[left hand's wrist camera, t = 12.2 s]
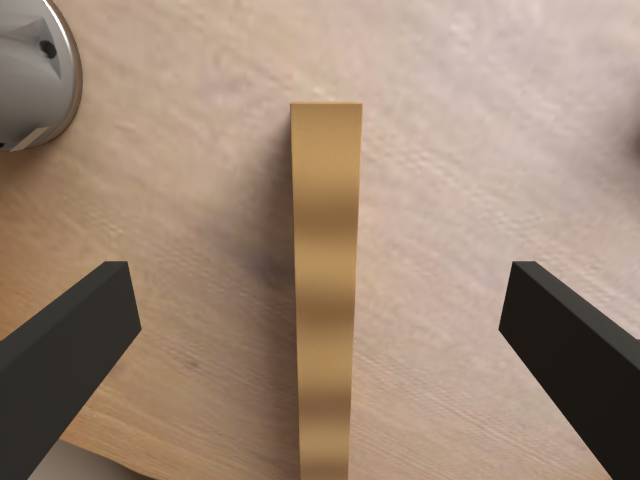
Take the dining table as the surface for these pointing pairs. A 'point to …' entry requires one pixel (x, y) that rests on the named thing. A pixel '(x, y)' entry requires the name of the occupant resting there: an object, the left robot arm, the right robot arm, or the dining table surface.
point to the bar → (325, 277)
